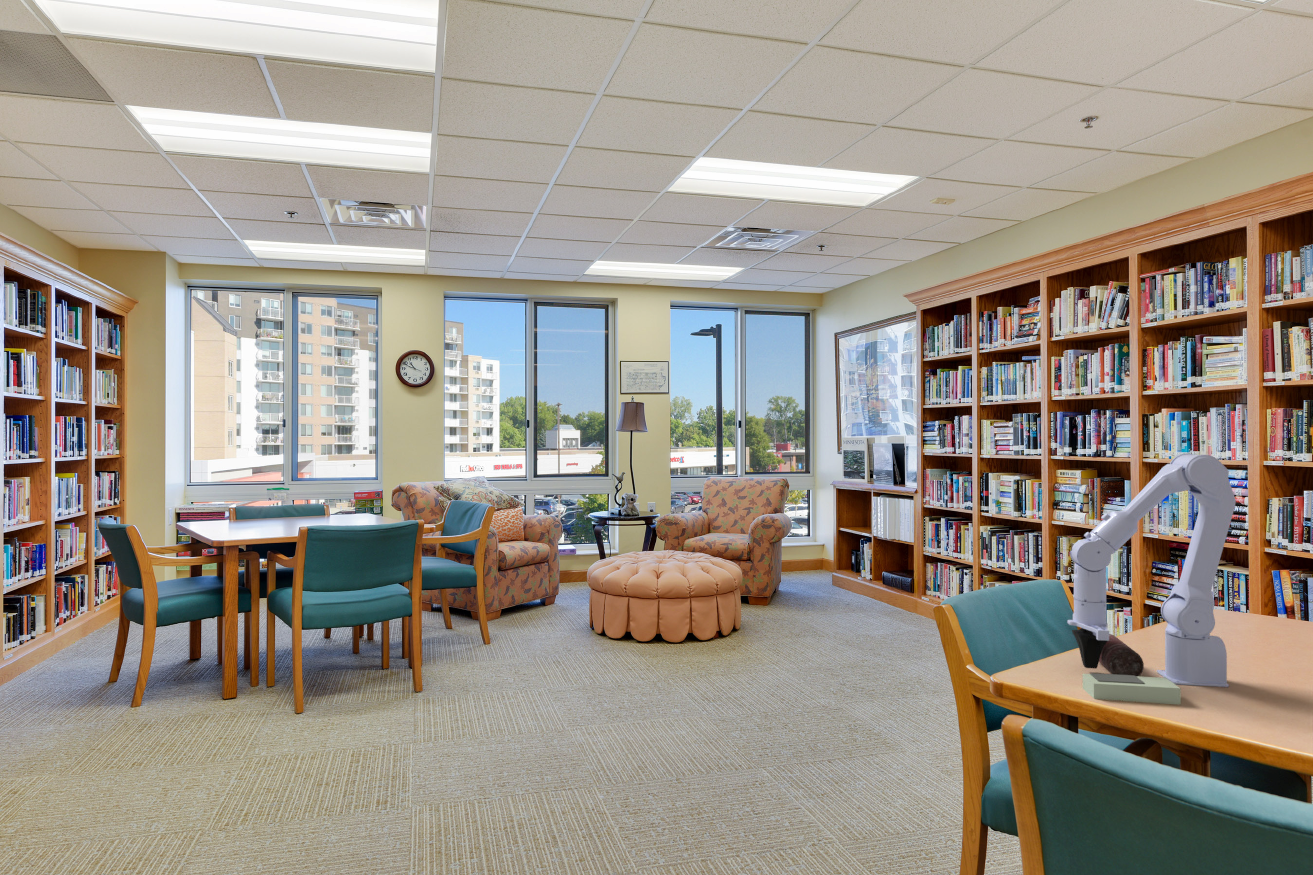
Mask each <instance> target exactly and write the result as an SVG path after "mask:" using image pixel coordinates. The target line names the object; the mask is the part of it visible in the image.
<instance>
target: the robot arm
mask: <svg viewBox="0 0 1313 875" xmlns="http://www.w3.org/2000/svg"><path fill="white" fill-rule="evenodd" d="M1229 472H1230V471H1229V470H1228V468H1227V467H1226V466H1225V465H1224V464H1223V463H1222V462H1221V461H1220V460H1219V459H1218V458H1216V457H1215V456H1213V455H1211V454H1193V453H1180V454H1179V455H1176V456H1175V457H1173V458H1172V459H1171V461H1170V462H1169V463H1167V464H1165V465H1164V466H1162V467H1161V469H1159V471H1158V472H1157V474H1155V476H1153V478H1152V479H1151V480H1150V481H1149V482H1147V484H1146V485H1145V486H1144V487H1143V488H1142V490H1140V492H1139V493H1137V495H1135V497H1133V499H1132V500H1131V501H1130V502H1129V503H1128V504H1127V505H1126V506H1125V507H1124V508H1123V509H1122V510H1113V511H1110V512H1109V513H1106V512H1105V513H1104V514H1103V515H1102V516H1101V517H1100V518H1101V519H1102V520H1101V521H1100V522H1099V523H1098V524H1097V525H1096V526H1095V527H1094V528H1093V529H1092V530H1091V531H1090V532H1089V531H1087V532H1085V533H1084V534H1083V537H1085V538H1083V539H1080V540H1077V541H1076V542H1075V543H1073V545H1072V547H1071V550H1070V551H1069V556H1070V558H1071V560H1072V562H1074V568H1073V569H1074V570H1073V572H1074V574H1073V613H1072V619H1067V624H1068V626H1075V627H1078V628H1079V629H1072V630H1071V632H1072V635H1073V636H1074V639H1075V641H1076V643H1077V646H1078V649H1079V653H1080V657H1081V662H1082V666H1083V667H1084V668H1085V669H1094V670H1095V669H1097V668H1098V666H1099V663H1100V662H1099V659H1100V655H1101V652H1102V649H1103V647H1104V645H1105V644H1106V642H1107V641H1109V634H1110V630H1109V629H1108V628H1109V627H1108V626H1109V625H1108V624H1109V623H1108V622H1107V576H1106V573H1107V572H1106V569H1107V567H1108V566H1109V565H1110V563H1111V561H1112V555H1114V554H1115V553H1116V552H1117V551H1118V550H1120V548H1122V546H1124V544H1126V543H1127V541H1129V540H1130V539H1131V538H1133V536H1134V535H1135V534H1136V533H1138V529H1139V528H1138V523H1139V521H1140V520H1141V519H1142V518H1144V517H1145V516H1146V515H1147V514H1148V513H1150V512H1151V511H1152V510H1153V509H1154V508H1155V507H1157V505H1159V503H1161V502H1162V501H1163V500H1165V498H1167V497H1168V496H1170V495H1171V494H1176V493H1181V492H1186V491H1189V493H1191V495H1192V496H1193V497H1194V499H1195V500H1196V501H1197V503H1199V508H1198V509H1199V510H1198V514H1197V517H1196V521H1195V524H1194V528H1193V531H1192V534H1191V538H1190V542H1189V545H1188V549H1187V553H1186V556H1185V558H1184V559H1185V560H1184V564H1183V567H1182V571H1181V575H1180V578H1179V581H1178V582H1177V583H1176V584H1175V585H1174V586H1173V587H1172V588H1171V592H1170V594H1169V596H1168V597H1167V598H1166V599H1165V600H1164V601H1163V602H1162V604H1161V607H1160V614H1161V616H1162V619H1163V620H1164V621H1165V622H1166V623H1167V625H1166V627H1165V629H1164V631H1165V632H1164V641H1165V642H1164V643H1165V644H1164V651H1165V653H1164V654H1165V655H1164V656H1165V657H1164V659H1165V660H1164V662H1165V663H1164V664H1165V665H1164V666H1165V667H1164V668H1165V670H1164V669H1157V670H1156V673H1157V674H1159V675H1160V676H1161V677H1162V678H1167V679H1168V680H1169V681H1171V682H1172V683H1174V684H1175V685H1177V686H1178V685H1179V686H1180V685H1181V686H1198V687H1220V688H1229V685H1230V684H1229V683H1228V682H1227V680H1228V677H1227V676H1228V670H1227V668H1228V667H1227V666H1228V664H1227V663H1228V661H1227V660H1228V659H1227V658H1228V656H1227V648H1226V645H1225V643H1224V640H1223V639H1222V638H1221V637H1220V636H1217V635H1211V633H1212V632H1213V630H1214V628H1215V626H1216V619H1215V615H1214V608H1215V604H1216V603H1215V600H1214V595H1213V592H1212V588H1213V585H1214V582H1215V581H1214V580H1215V578H1216V575H1217V571H1218V568H1219V564H1220V560H1221V557H1222V553H1223V550H1224V546H1225V542H1226V539H1227V536H1228V532H1229V529H1230V525H1231V521H1232V518H1233V515H1234V511H1235V507H1236V502H1237V500H1236V497H1235V494H1234V491H1233V488H1232V485H1231V482H1230V479H1229V474H1230V473H1229Z"/></svg>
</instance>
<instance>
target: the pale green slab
mask: <svg viewBox="0 0 1313 875" xmlns="http://www.w3.org/2000/svg"><path fill="white" fill-rule="evenodd" d="M1082 690H1084V691H1085V693H1087V694H1088V695H1089V696H1090V697H1091V698H1093V699H1094V700H1104V699H1105V700H1104V701H1106V700H1108V701H1119V700H1121V701H1122V700H1123V702H1134V703H1136V702H1137V703H1150V704H1151V703H1152V704H1165V705H1182V704H1181V702H1182V700H1181V696H1182V694H1181V693H1182V692H1181V690H1182V689H1181V687H1179V686H1178V684H1174V683H1172V682H1171V681H1169V680H1168V679H1167V678H1164V677H1158V676H1157V677H1155V676H1153V677H1152V676H1141V675H1140V676H1135V675H1116V674H1112V673H1094V672H1091V673H1090V672H1089V673H1082ZM1135 701H1136V702H1135Z"/></svg>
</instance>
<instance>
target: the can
mask: <svg viewBox="0 0 1313 875" xmlns="http://www.w3.org/2000/svg"><path fill="white" fill-rule="evenodd" d="M1099 663H1100V664H1101V665H1102V666H1103V667H1104V668H1106V669H1107V670H1108V671H1109V673H1110V674H1116V675H1135V676H1140V677H1141V674H1142V673H1143V670H1144V665H1145V663H1144V661H1143V658H1142V657H1141V655H1140V654H1139V653H1138V652H1137V651H1135V650H1134V649H1133V648H1131V647H1130V646H1128V644H1126V643H1124V641H1122V640H1120V639H1119V638H1118V637H1117V636H1115V635H1114V634H1111V633H1109V641H1107V642H1106V644H1105V645H1104V647H1103V649H1102V652H1101V655H1100V659H1099Z"/></svg>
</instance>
